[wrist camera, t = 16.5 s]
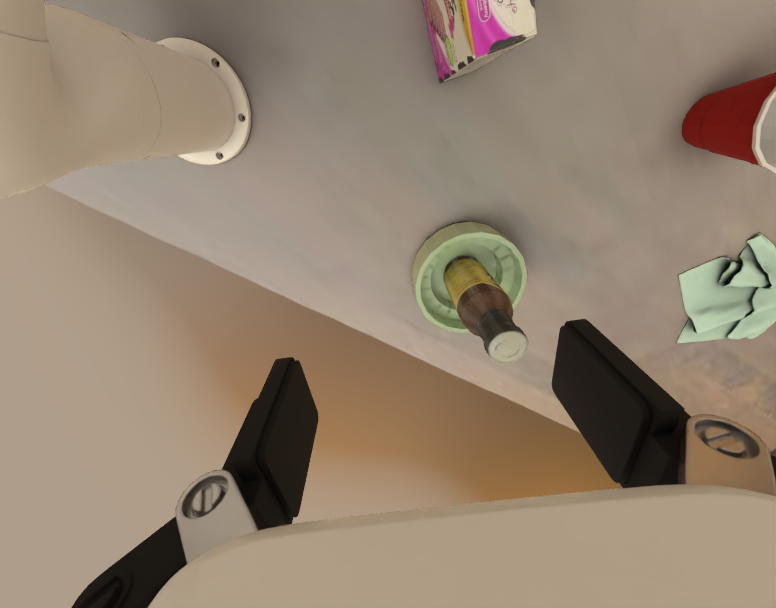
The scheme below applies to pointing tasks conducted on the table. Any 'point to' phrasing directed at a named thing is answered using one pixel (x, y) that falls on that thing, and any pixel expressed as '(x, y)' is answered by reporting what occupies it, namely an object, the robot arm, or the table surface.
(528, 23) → the candy bar box
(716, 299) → the cloth
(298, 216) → the table surface
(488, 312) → the sauce bottle
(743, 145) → the plastic cup
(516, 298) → the bowl
